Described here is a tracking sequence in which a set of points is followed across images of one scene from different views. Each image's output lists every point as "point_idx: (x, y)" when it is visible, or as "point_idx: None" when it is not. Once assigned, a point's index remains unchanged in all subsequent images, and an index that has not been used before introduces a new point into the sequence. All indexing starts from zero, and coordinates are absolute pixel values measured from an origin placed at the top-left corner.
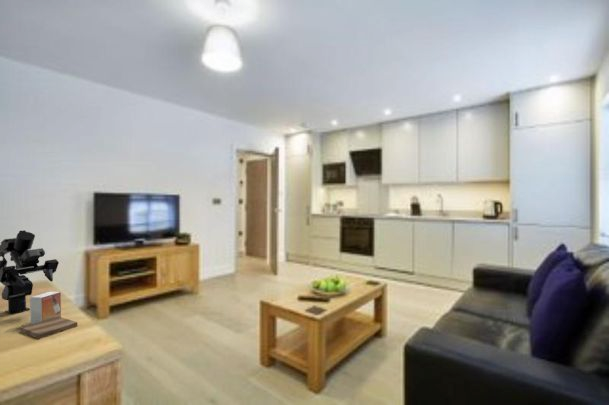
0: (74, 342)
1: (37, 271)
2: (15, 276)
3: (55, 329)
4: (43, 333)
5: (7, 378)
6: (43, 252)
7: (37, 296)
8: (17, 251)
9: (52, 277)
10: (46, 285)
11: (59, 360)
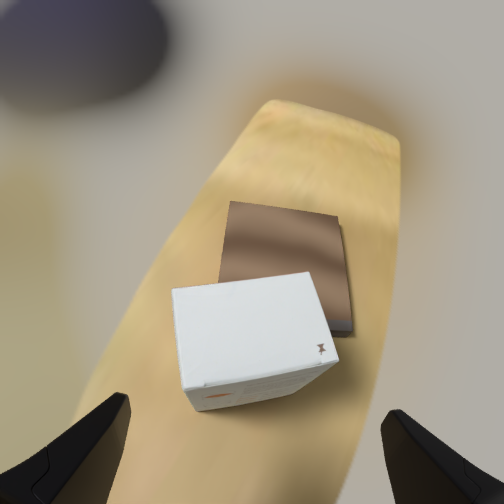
0: (295, 150)
1: None
2: (496, 480)
3: (295, 210)
4: (326, 215)
5: (398, 150)
6: None
7: (310, 322)
8: None
9: (100, 405)
10: None
11: (339, 130)
